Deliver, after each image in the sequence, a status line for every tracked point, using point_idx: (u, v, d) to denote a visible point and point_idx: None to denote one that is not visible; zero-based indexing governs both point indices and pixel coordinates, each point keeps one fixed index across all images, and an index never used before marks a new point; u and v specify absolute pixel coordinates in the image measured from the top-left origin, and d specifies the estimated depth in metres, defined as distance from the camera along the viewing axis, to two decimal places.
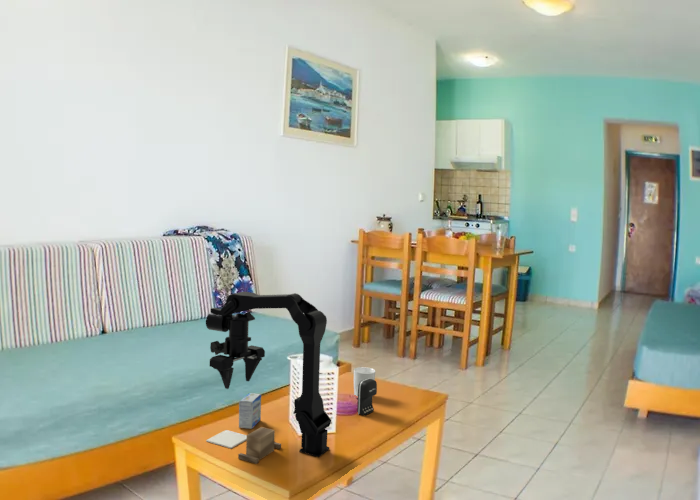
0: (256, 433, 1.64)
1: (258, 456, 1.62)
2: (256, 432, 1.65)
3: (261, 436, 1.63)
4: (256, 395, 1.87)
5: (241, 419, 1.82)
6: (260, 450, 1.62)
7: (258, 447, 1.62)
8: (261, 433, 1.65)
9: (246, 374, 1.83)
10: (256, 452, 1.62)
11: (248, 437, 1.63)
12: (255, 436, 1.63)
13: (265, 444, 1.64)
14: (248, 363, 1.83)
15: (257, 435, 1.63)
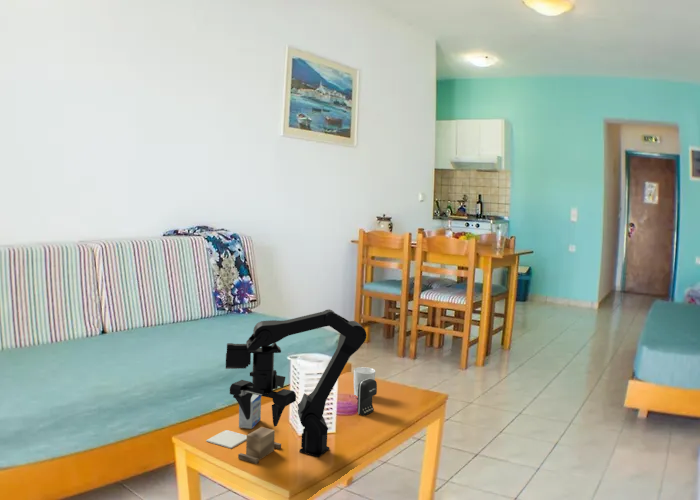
0: (256, 433, 1.64)
1: (258, 456, 1.62)
2: (256, 433, 1.65)
3: (261, 436, 1.63)
4: (256, 395, 1.87)
5: (241, 419, 1.82)
6: (260, 450, 1.62)
7: (258, 447, 1.62)
8: (261, 433, 1.65)
9: None
10: (256, 452, 1.62)
11: (248, 437, 1.63)
12: (255, 436, 1.63)
13: (265, 444, 1.64)
14: None
15: (257, 435, 1.63)
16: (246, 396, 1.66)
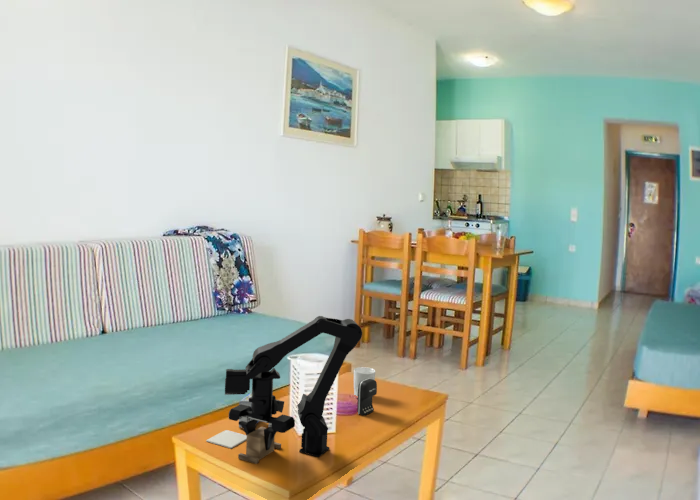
0: (256, 433, 1.64)
1: (258, 456, 1.62)
2: (256, 432, 1.65)
3: (261, 436, 1.63)
4: None
5: None
6: (260, 450, 1.62)
7: (258, 447, 1.62)
8: (261, 432, 1.65)
9: None
10: (256, 452, 1.62)
11: (248, 437, 1.63)
12: (255, 436, 1.63)
13: None
14: None
15: (257, 435, 1.63)
16: (251, 423, 1.66)
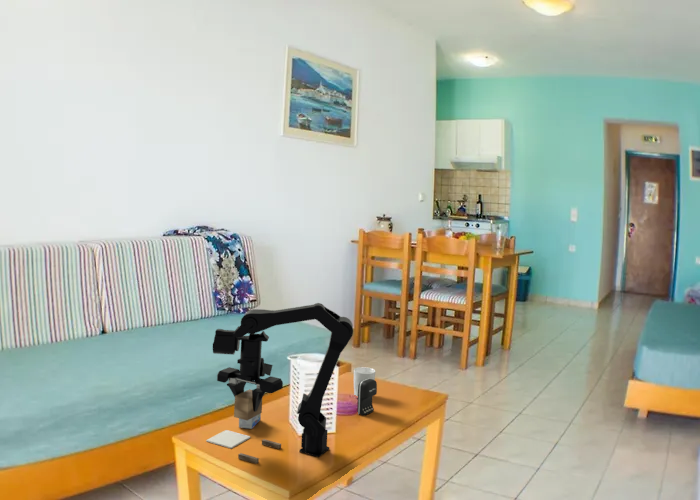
0: (244, 395, 1.66)
1: (246, 416, 1.64)
2: (244, 394, 1.67)
3: (249, 397, 1.65)
4: None
5: (241, 419, 1.82)
6: (248, 411, 1.64)
7: (246, 407, 1.63)
8: (249, 394, 1.67)
9: None
10: (244, 413, 1.64)
11: (236, 398, 1.65)
12: (243, 397, 1.64)
13: None
14: None
15: (245, 396, 1.65)
16: (239, 385, 1.68)
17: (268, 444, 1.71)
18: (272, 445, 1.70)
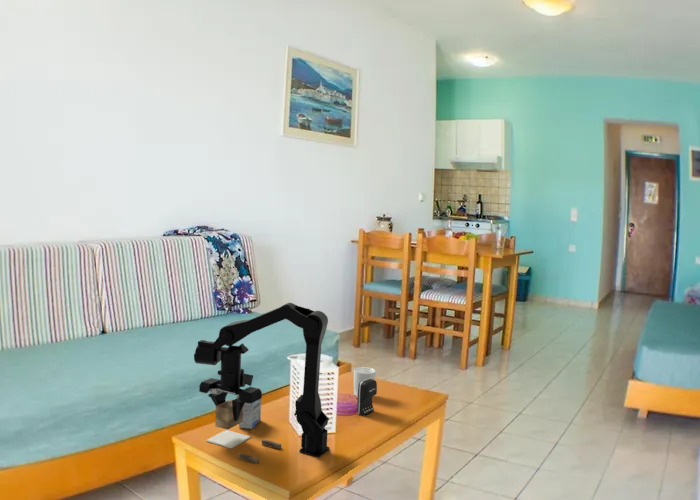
0: (224, 405, 1.72)
1: (226, 426, 1.69)
2: (225, 404, 1.72)
3: (229, 407, 1.70)
4: None
5: None
6: (229, 420, 1.69)
7: (226, 417, 1.69)
8: (230, 404, 1.73)
9: None
10: (224, 422, 1.70)
11: (217, 408, 1.70)
12: (223, 407, 1.70)
13: None
14: None
15: (226, 406, 1.71)
16: (221, 395, 1.74)
17: (268, 444, 1.71)
18: (272, 445, 1.70)
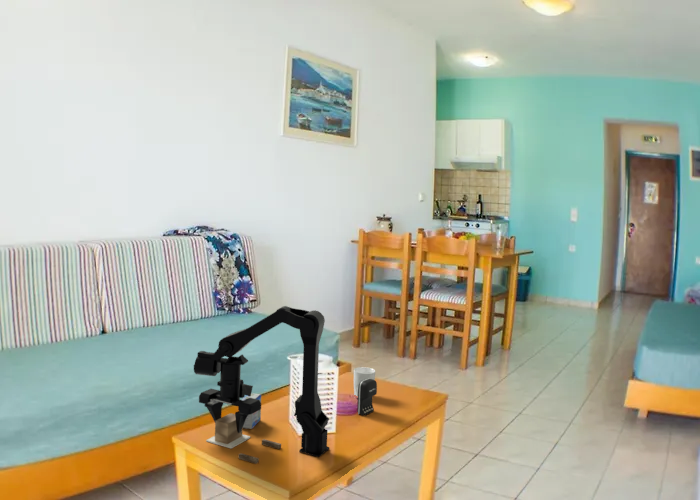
0: (224, 419, 1.72)
1: (226, 440, 1.70)
2: (224, 418, 1.73)
3: (229, 421, 1.71)
4: (256, 395, 1.87)
5: None
6: (228, 435, 1.70)
7: (226, 432, 1.69)
8: (230, 418, 1.73)
9: None
10: (224, 437, 1.70)
11: (217, 422, 1.71)
12: (223, 421, 1.71)
13: (233, 429, 1.72)
14: None
15: (225, 420, 1.71)
16: (217, 405, 1.75)
17: (268, 444, 1.71)
18: (272, 445, 1.70)
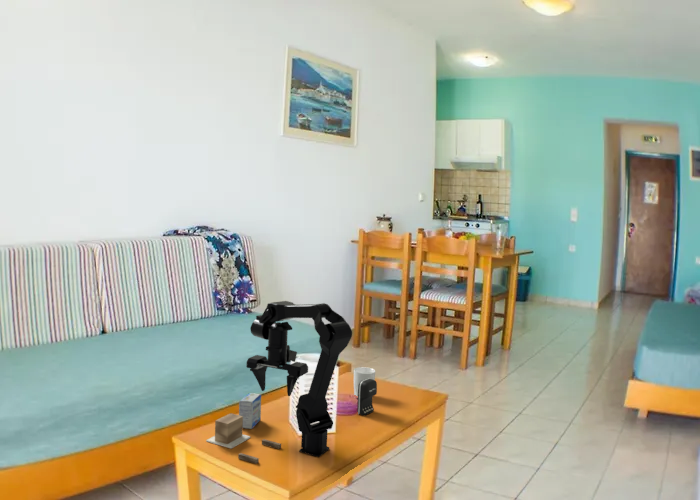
0: (224, 419, 1.72)
1: (226, 440, 1.70)
2: (224, 418, 1.73)
3: (229, 421, 1.71)
4: (256, 395, 1.87)
5: None
6: (228, 435, 1.70)
7: (226, 432, 1.69)
8: (230, 418, 1.73)
9: None
10: (224, 437, 1.70)
11: (217, 422, 1.71)
12: (223, 421, 1.71)
13: (233, 429, 1.72)
14: None
15: (225, 420, 1.71)
16: (261, 369, 1.82)
17: (268, 444, 1.71)
18: (272, 445, 1.70)
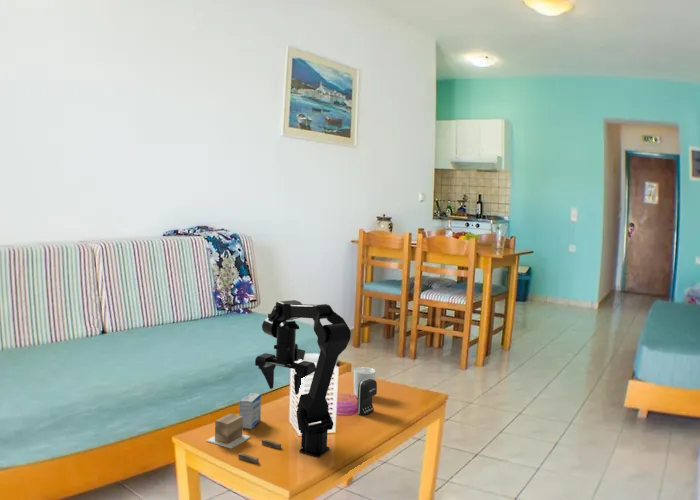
0: (224, 419, 1.72)
1: (226, 440, 1.70)
2: (224, 418, 1.73)
3: (229, 421, 1.71)
4: (256, 395, 1.87)
5: None
6: (228, 435, 1.70)
7: (226, 432, 1.69)
8: (230, 418, 1.73)
9: None
10: (224, 437, 1.70)
11: (217, 422, 1.71)
12: (223, 421, 1.71)
13: (233, 429, 1.72)
14: None
15: (225, 420, 1.71)
16: (270, 367, 1.83)
17: (268, 444, 1.71)
18: (272, 445, 1.70)
